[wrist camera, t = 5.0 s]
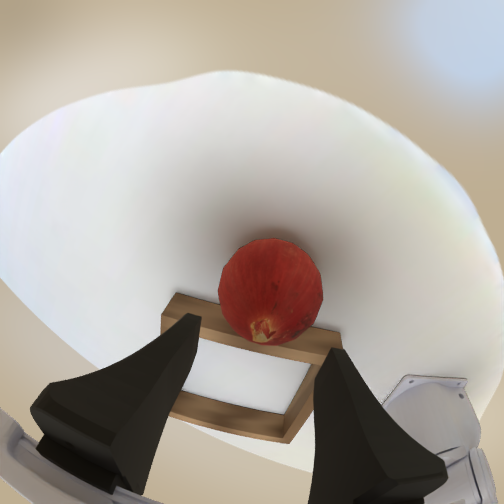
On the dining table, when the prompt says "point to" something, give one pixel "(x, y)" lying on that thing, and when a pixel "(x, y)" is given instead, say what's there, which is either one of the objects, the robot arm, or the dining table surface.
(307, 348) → the box
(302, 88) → the dining table surface
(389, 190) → the dining table surface
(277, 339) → the onion
